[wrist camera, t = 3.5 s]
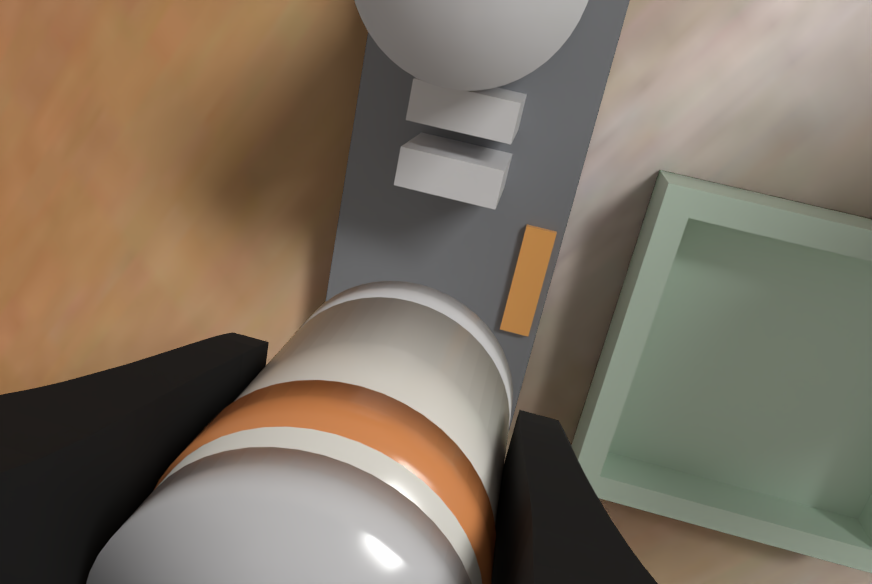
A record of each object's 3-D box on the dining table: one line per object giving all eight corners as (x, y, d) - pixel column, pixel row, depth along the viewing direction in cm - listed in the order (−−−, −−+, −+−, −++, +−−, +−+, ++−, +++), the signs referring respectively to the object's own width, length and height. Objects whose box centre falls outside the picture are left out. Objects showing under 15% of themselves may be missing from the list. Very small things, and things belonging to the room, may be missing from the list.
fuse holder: (668, -149, 16) (693, -194, 13) (469, 563, 24) (454, 645, 21) (415, -197, 17) (379, -252, 14) (299, 514, 25) (258, 587, 21)
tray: (1016, 253, 18) (1062, 275, 16) (866, 536, 21) (892, 579, 20) (659, 169, 19) (668, 183, 17) (568, 455, 22) (568, 489, 20)
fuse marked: (543, 312, 12) (521, 563, 6) (485, 513, 13) (427, 859, 8) (304, 251, 12) (81, 438, 7) (274, 453, 14) (74, 745, 8)
